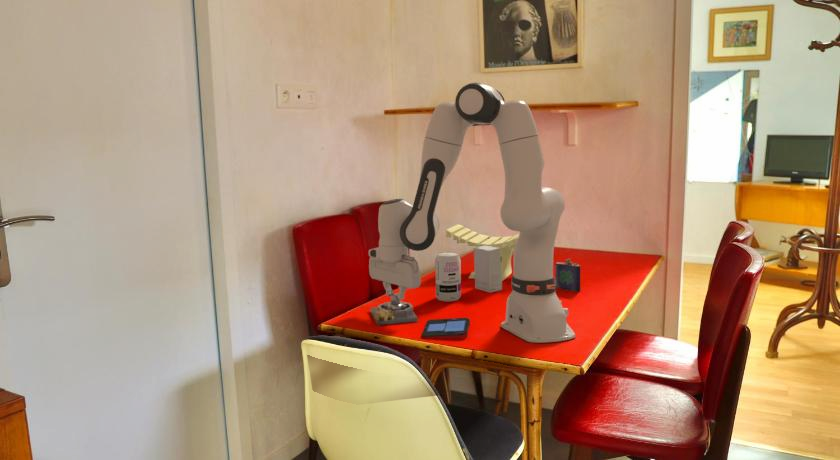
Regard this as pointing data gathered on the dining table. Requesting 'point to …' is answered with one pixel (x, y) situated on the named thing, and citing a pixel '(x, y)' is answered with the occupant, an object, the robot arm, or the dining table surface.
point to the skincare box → (487, 268)
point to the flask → (567, 276)
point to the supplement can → (448, 276)
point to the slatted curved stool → (481, 240)
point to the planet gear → (395, 304)
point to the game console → (446, 328)
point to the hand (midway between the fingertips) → (395, 297)
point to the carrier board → (393, 315)
